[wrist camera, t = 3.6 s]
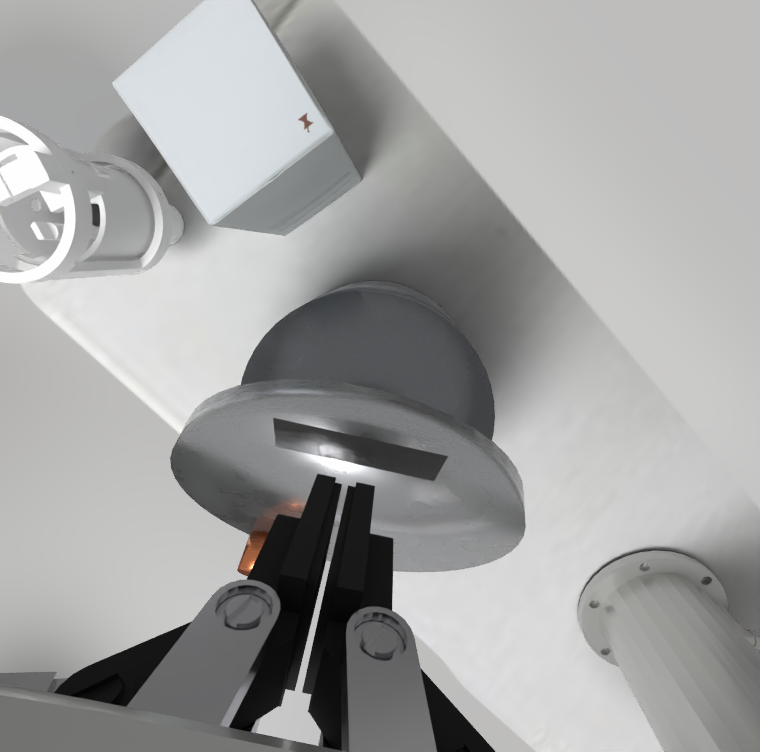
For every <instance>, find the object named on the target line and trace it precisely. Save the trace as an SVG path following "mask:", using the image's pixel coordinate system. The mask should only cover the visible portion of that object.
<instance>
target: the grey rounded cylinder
mask: <svg viewBox="0 0 760 752" xmlns="http://www.w3.org/2000/svg"><path fill="white" fill-rule="evenodd" d="M283 379H301V380H321V381H332V382H342V383H347V384H353V385H359V386H364V387H370V388H374V389H378V390H382V391H386V392H389V393H393V394H397V395H401V396H404V397H407V398H409V399H412V400H415V401H418V402H421V403H424V404H426V405H429V406H431V407H434V408H436V409H438V410H440V411H442V412H445V413H447V414H449V415H451V416H454V417H455V418H457V419H459V420H461V421H462V422H464V423H466V424H468V425H469V426H471V427H473V428H475V429H476V430H478V431H479V432H480V433H482V434H483V435H484V436H486V437H487V438H488V439H490V440H491V441H492V437H493V431H494V420H495V413H494V399H493V394H492V389H491V384H490V381H489V379H488V376H487V373H486V370H485V368H484V366H483V364H482V362H481V360H480V358H479V356H478V354H477V353H476V351H475V350H474V349H473V347H472V346H471V344H470V343H469V341H468V340H467V339H466V337H465V336H464V335H463V333H462V332H461V331H460V330H459V328H458V327H457V326H456V324H455V323H454V322H453V321H452V319H451V318H450V317H449V315H448V314H447V313H446V312H445V311H444V310H443V309H442V308H441V307H440V306H439V305H438V304H437V303H435V302H434V301H433V300H432V299H431V298H429V297H427V296H426V295H424V294H423V293H421V292H419V291H417V290H415V289H412V288H410V287H408V286H405V285H401V284H398V283H393V282H387V281H362V282H356V283H352V284H348V285H344V286H342V287H339V288H337V289H334V290H332V291H330V292H328V293H326V294H324V295H322V296H320V297H318V298H316V299H314V300H312V301H310V302H308V303H306V304H305V305H303V306H301V307H299V308H298V309H296V310H294V311H292V312H291V313H289V314H288V315H287V316H285V317H284V318H283V319H281V320H280V321H279V322H278V323H276V324H275V325H274V326H273V328H272V329H271V330H270V331H269V332H268V333H267V334H266V335H265V336H264V337H263V339H262V340H261V341H260V343H259V344H258V346H257V347H256V348H255V350H254V352H253V354H252V356H251V358H250V360H249V362H248V364H247V366H246V369H245V372H244V375H243V378H242V382H241V385H245V384H250V383H255V382H259V381H271V380H283Z"/></svg>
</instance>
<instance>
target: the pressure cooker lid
mask: <svg viewBox="0 0 760 752" xmlns="http://www.w3.org/2000/svg"><path fill="white" fill-rule="evenodd" d="M170 460H171V469H172V471H173V474H174V476H175V479H176V480H177V481H178V483H179V485H180V486H181V487H182V488H183V490H184V491H185V492H186V493H187V494H188V495H189V496H190V497H191V498H192V499H193V500H195V502H197V503H198V504H199V505H200V506H201V507H203V508H204V509H205V510H207V511H208V512H209V513H211V514H212V515H214V516H216V517H217V518H219V519H220V520H222V521H224V522H225V523H227V524H229V525H231V526H233V527H235V528H237V529H238V530H241V531H243V532H245V533H247V534H249V539H248V541H247V544H246V547H245V550H244V552H243V556H242V558H241V561H240V564H239V566H238V569H237V570H238V572H239V573H241V574H243V575H245V576H249V573H250V571H251V569H252V567H253V565H254V563H255V561H256V559H257V557H258V554H259V552H260V550H261V548H262V546H263V544H264V542H265V540H266V537H267V535H268V533H269V531H270V529H271V527H272V525H273V523H274V520H275V518H276V517H277V515H278V514H282V515H287V516H292V517H296V518H301V516H302V513H303V510H304V508H305V505H306V502H307V500H308V497H309V495H310V492H311V489H312V487H313V484H314V481H315V479H316V476H317V474H322V475H327V476H331V477H336V481H335V483H339V484H342V488H341V492H340V497H339V502H338V506H337V511H336V516H335V520H334V525H333V530H332V534H331V539H330V544H329V548H328V553H327V558H326V560H327V561H331V560H332V555H333V551H334V546H335V542H336V537H337V533H338V528H339V524H340V520H341V515H342V511H343V506H344V502H345V497H346V493H347V488H348V485H349V486H353V487H355V486H356V482H359V483H364V484H368V485H373V486H375V491H374V500H373V509H372V519H371V528H370V533H371V534H376V535H380V536H385V537H390V538H393V543H394V545H393V571H404V572H438V571H451V570H459V569H465V568H470V567H475V566H479V565H483V564H486V563H489V562H492V561H494V560H497V559H499V558H501V557H503V556H505V555H506V554H508V553H509V552H511V551H512V550H513V549H514V548H515V547H516V546H517V545H518V544H519V543H520V541H521V539H522V538H523V536H524V531H525V508H524V491H523V484H522V480H521V477H520V475H519V473H518V471H517V468H516V467H515V466H514V464H513V463H512V461H511V460H510V459H509V457H508V456H507V455H506V454H505V453H504V452H503V451H502V450H501V449H500V448H499V447H498V446H497V445H496V444H495V443H494V442H492V441H491V440H490V439H488V438H487V437H486V436H484V435H483V434H482V433H480V432H479V431H478V430H476V429H475V428H473V427H471V426H469V425H468V424H466V423H464V422H462V421H461V420H459V419H457V418H455V417H454V416H451V415H449V414H447V413H445V412H442V411H440V410H438V409H436V408H434V407H431V406H429V405H426V404H424V403H421V402H418V401H415V400H412V399H409V398H407V397H404V396H401V395H397V394H393V393H389V392H386V391H382V390H378V389H374V388H370V387H364V386H359V385H353V384H347V383H342V382H332V381H321V380H301V379H283V380H271V381H259V382H255V383H250V384H245V385H240V386H236V387H233V388H230V389H227V390H224V391H222V392H219V393H217V394H215V395H214V396H212V397H210V398H208V399H206V400H205V401H204V402H203V403H201V404H200V405H199V406H198V407H197V408H196V409H195V410H194V412H193V413H192V415H191V416H190V418H189V419H188V421H187V423H186V425H185V427H184V429H183V431H182V433H181V434H180V436H179V438H178V440H177V442H176V444H175V446H174V448H173V450H172V454H171V458H170Z"/></svg>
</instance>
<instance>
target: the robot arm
mask: <svg viewBox="0 0 760 752" xmlns="http://www.w3.org/2000/svg"><path fill="white" fill-rule="evenodd" d="M335 481H336V477H331V476H327V475H322V474H317V476H316V479H315V481H314V484H313V487H312V489H311V492H310V495H309V497H308V500H307V502H306V505H305V508H304V510H303V513H302V516H301V518H296V517H292V516H287V515H282V514H278V515H277V517H276V518H275V520H274V523H273V525H272V527H271V529H270V531H269V533H268V535H267V537H266V540H265V542H264V544H263V546H262V548H261V550H260V552H259V554H258V557H257V559H256V561H255V563H254V565H253V567H252V569H251V571H250V573H249V576H248V578H247V580H239V581H235V582H231V583H229V584H227V585H225V586H223V587H221V588H220V589H219V590H218V591H217V592H216V593H214V594H213V595H212V597H211V598H210V599H209V601H208V602H207V603H206V604H205V606H204V607H203V608H202V610H201V611H200V612H199V613H198V615H197V616H196V617H195V619H194V620H193V621H192V622H190V623H188V624H185V625H183V626H180V627H178V628H176V629H174V630H171V631H169V632H166V633H164V634H162V635H159V636H157V637H155V638H152V639H150V640H148V641H145V642H143V643H141V644H138V645H136V646H134V647H131V648H129V649H127V650H124V651H122V652H120V653H117V654H115V655H113V656H110V657H108V658H106V659H103V660H101V661H99V662H96V663H94V664H92V665H90V666H87V667H85V668H83V669H82V670H80V671H78V672H76V673H75V674H73V675H72V676H70V677H69V678H67V679H57V672H27V673H0V752H495V751H494V749H493V748H492V747H491V746H490V745H489V744H488V743H487V742H486V741H485V739H484V738H483V737H482V736H481V735H480V734H479V733H478V732H477V731H476V729H475V728H473V726H472V725H471V724H470V723H469V722H468V721H467V719H466V718H465V717H464V716H463V715H462V714H461V713H460V712H459V711H458V709H457V708H456V707H455V706H454V705H453V704H452V703H451V702H450V700H449V699H448V698H447V697H446V696H445V695H444V694H443V693H442V692H441V690H440V689H439V688H438V687H437V686H436V685H435V684H434V683H433V682H432V681H431V679H430V678H429V677H428V676H427V675H426V674H425V673H424V672H423V670H422V669H421V668H420V664H419V659H418V654H417V649H416V644H415V639H414V635H413V633H412V630H411V628H410V626H409V625H408V624H407V622H406V621H405V620H404V619H403V618H402V617H401V616H399V615H398V614H397V613H395V612H393V611H392V587H393V545H394V543H393V538H390V537H385V536H380V535H376V534H371V533H370V528H371V519H372V509H373V500H374V491H375V486H373V485H368V484H364V483H359V482H356V486H355V487H353V486H349V485H348V488H347V493H346V497H345V502H344V506H343V511H342V515H341V520H340V524H339V528H338V533H337V537H336V542H335V546H334V551H333V555H332V560H331V564H330V569H329V573H328V577H327V582H326V586H325V591H324V596H323V600H322V605H321V609H320V614H319V618H318V623H317V628H316V632H315V637H314V641H313V646H312V651H311V655H310V659H309V665H308V669H307V673H306V678H305V683H304V687H303V691H302V692H303V693H307V694H312V695H311V700H310V705H309V710H308V712H309V713H310V714H311V716H312V717H313V719H314V720H315V722H316V723H317V725H318V727H319V728H320V730H321V734H320V739H319V746H315V745H311V744H306V743H301V742H296V741H291V740H287V739H282V738H277V737H272V736H267V735H262V734H258V733H256V731H257V728H258V725H259V721H260V718H261V717H262V716H263V715H265V714H267V713H268V712H270V711H271V710H273V709H274V708H276V707H278V706H281V704H282V700H283V696H284V692H285V689H288V690H293V691H295V687H296V683H297V679H298V675H299V671H300V666H301V662H302V658H303V654H304V650H305V645H306V641H307V637H308V633H309V629H310V625H311V621H312V617H313V613H314V608H315V604H316V600H317V596H318V592H319V588H320V584H321V580H322V575H323V571H324V567H325V562H326V558H327V553H328V548H329V544H330V539H331V534H332V530H333V525H334V520H335V516H336V511H337V506H338V502H339V497H340V492H341V488H342V484H339V483H335ZM578 620H579V625H580V629H581V631H582V633H583V635H584V637H585V639H586V641H587V643H588V644H589V646H590V647H591V649H592V650H593V651H594V652H595V653H596V654H597V655H598V656H600V657H601V658H603V659H604V660H606V661H607V662H609V663H611V664H614V665H616V666H619V667H620V669H621V671H622V673H623V675H624V677H625V678H626V680H627V682H628V684H629V686H630V688H631V690H632V692H633V694H634V696H635V697H636V699H637V701H638V703H639V705H640V707H641V709H642V711H643V713H644V714H645V716H646V718H647V720H648V722H649V724H650V726H651V728H652V730H653V732H654V733H655V735H656V737H657V739H658V741H659V743H660V745H661V747H662V749H663V750H664V752H760V653H759V652H758V651H757V650H760V632H755V631H751V630H744V629H743V628H742V627H741V626H740V625H739V624H738V623H737V622H736V621H735V619H734V618H733V617H732V616H731V615H730V614H729V613H728V601H727V595H726V593H725V590H724V588H723V586H722V584H721V583H720V582H719V580H718V579H717V578H716V576H715V575H714V574H713V573H712V572H711V571H710V570H709V569H708V568H707V567H706V566H704V565H703V564H701V563H700V562H698V561H697V560H695V559H693V558H691V557H688V556H686V555H684V554H680V553H675V552H671V551H647V552H640V553H636V554H632V555H628V556H626V557H623V558H621V559H619V560H616V561H614V562H613V563H611V564H609V565H608V566H606V567H605V568H603V569H602V570H601V571H600V572H599V573H597V574H596V575H595V576H594V577H593V578H592V580H591V581H590V582H589V583H588V585H587V586H586V588H585V590H584V592H583V594H582V596H581V598H580V602H579V606H578ZM756 649H757V650H756Z"/></svg>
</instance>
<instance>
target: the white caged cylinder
mask: <svg viewBox="0 0 760 752" xmlns="http://www.w3.org/2000/svg"><path fill="white" fill-rule="evenodd" d="M0 151H1V153H0V165H4V166H2V167H0V227H1V229H2V230H3V232H4V234H5V235H6V236H7V238H8V239H9V240H10V241H11V243H12V244H13V245H14V246H15V247H16V248H18V250H20V251H21V252H22V253H24V254H18V255H16V256H14V257H15V258H17V259H19V260H21V261H23V262H26V263H29V264H33V265H38V267H36V268H34V269H31V270H28V271H21V270H17V269H13V268H10V267H8V266H6V265H4V264H2V263H0V282H5V283H30V282H43V281H48V280H60V279H74V278H88V277H102V276H126V275H135V274H139V273H142V272H145V271H147V270H149V269H150V268H152V267H153V266H155V265H156V264H157V263H158V262H159V261H160V260H161V258H162V257H163V256H164V254H165V252H166V251H167V248H168V246H169V245H172V244H174V243H176V242H177V241H179V240H180V238H181V237H182V235H183V231H184V222H183V218H182V216H181V214H180V212H179V211H178V210H177V209H176V208H175V207H174V206H172V205H170V204H168V201H167V199H166V196H165V194H164V192H163V191H162V189H161V187H160V186H159V184H158V183H157V182H156V181H155V179H154V178H153V177H152V176H151V175H150V174H149V173H148V172H147V171H145V170H144V169H143V168H142V167H140V166H139V165H137V164H135V163H133V162H131V161H129V160H126V159H123V158H121V157H118V156H115V155H112V154H108V153H102V152H89V153H84V154H82V153H79V152H75V151H72V150H69V149H66V148H63V147H60V146H59V145H58V144H57V143H56V142H55V141H53V140H52V139H50V137H48V136H47V135H45V134H44V133H42V132H40V131H39V130H37V129H35V128H33V127H31V126H28V125H25V124H23V123H20V122H16V121H14V120H11V119H8V118H5V117H2V116H0ZM103 165H116V166H119V167H121V168H123V169H124V170H126V171H127V172H129V173H130V174H131V175H132V176H131V175H129V174H127V173H124V172H121V171H118V170H115V169H111V168H108V167H105V166H103ZM133 176H134V177H135V178H134V177H133ZM107 177H109V178H110V179H107ZM33 199H35V200H37V202H38V205H39V211H38V212H35V211H34V210H33V208H32V204H31V203H32V200H33ZM93 242H94V243H93Z"/></svg>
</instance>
